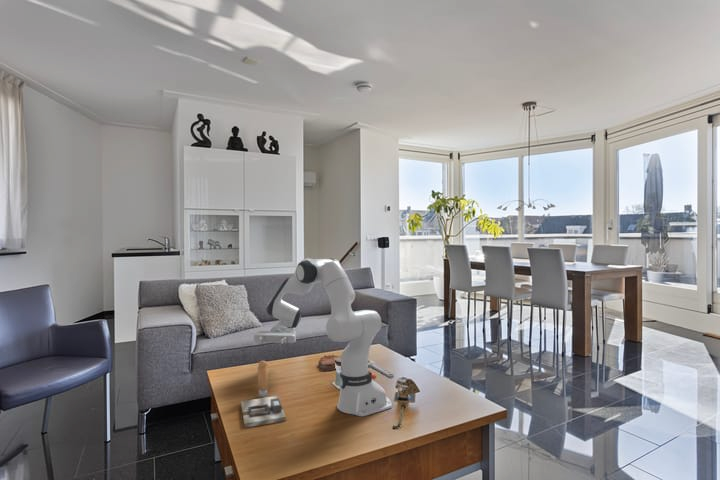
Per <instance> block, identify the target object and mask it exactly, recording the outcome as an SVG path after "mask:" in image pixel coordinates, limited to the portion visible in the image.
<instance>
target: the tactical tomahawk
mask: <svg viewBox="0 0 720 480" xmlns="http://www.w3.org/2000/svg"><path fill="white" fill-rule="evenodd" d="M406 406H407V404H406V402H403V401H402V402H401V405H400V409H399V416H398V420H397V425H392V429H393V430H398V429H399V428H401V427H402V426H401V425H402V422H403V418H402V417H404V413H405V409H404V410H403V409H402V407H405V408H406ZM400 426H401V427H400Z"/></svg>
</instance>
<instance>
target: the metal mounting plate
mask: <svg viewBox="0 0 720 480" xmlns="http://www.w3.org/2000/svg"><path fill="white" fill-rule="evenodd" d="M277 398H279V396H278V395H275V396H274V395H273V396H268V397H267V396H266V397H259V398H254V399H247V400H241V401H240V406H241V413H242V420H243V426H244V428H245V429H246V428H251V427H257V426H263V425H268V424H275V423H280V422H286V421H287V420H286V419H287V418H286V417H287V416H286V414H285V412H284V408H283V406H282V405H281V412H276V413H273V411H272V408H271V399H277Z"/></svg>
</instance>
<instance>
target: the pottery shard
mask: <svg viewBox="0 0 720 480" xmlns="http://www.w3.org/2000/svg"><path fill="white" fill-rule="evenodd" d="M335 357H340V356H339V355H333V354H332V355H331V354H329V355H324V356H322V357H320V359H319V360H318V368H319V369H320V370H319V371H320V372H330V371H335V370H336V369H335V363H334V358H335Z"/></svg>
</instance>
